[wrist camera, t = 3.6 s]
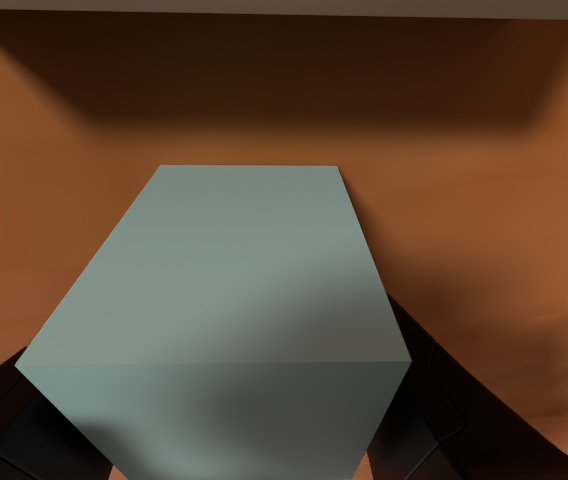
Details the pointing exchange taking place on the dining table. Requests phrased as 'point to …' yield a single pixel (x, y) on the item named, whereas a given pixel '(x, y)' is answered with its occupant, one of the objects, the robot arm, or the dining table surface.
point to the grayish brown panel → (318, 7)
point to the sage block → (227, 331)
